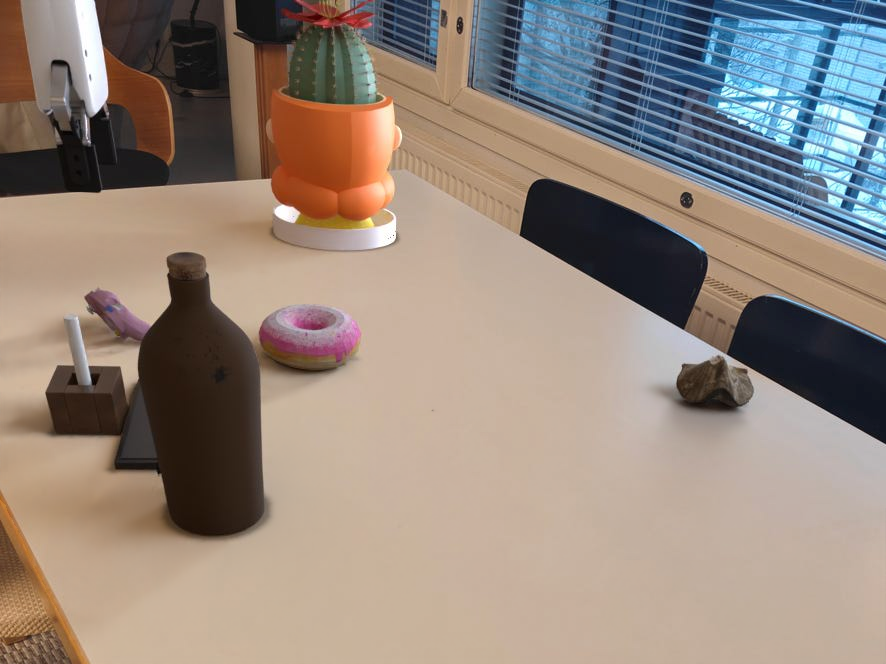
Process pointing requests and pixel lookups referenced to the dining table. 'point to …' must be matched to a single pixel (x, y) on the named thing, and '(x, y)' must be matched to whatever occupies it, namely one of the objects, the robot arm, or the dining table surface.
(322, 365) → the donut
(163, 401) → the rum bottle
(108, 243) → the dining table surface
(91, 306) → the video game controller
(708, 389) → the fossilized seashell
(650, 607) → the dining table surface
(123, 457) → the tablet
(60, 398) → the pen holder
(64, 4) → the robot arm
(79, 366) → the stylus
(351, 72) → the potted cactus
